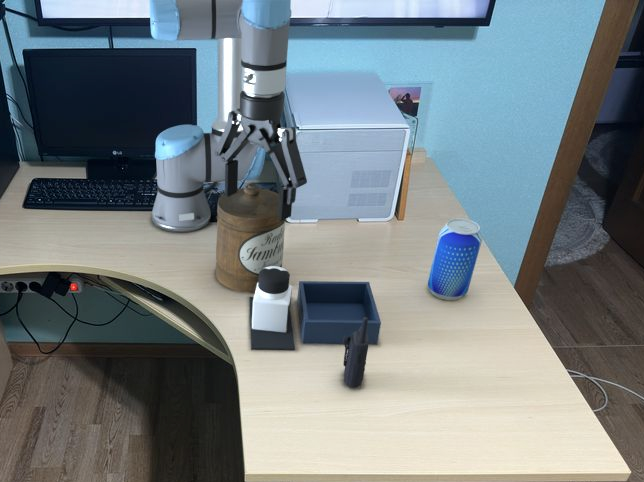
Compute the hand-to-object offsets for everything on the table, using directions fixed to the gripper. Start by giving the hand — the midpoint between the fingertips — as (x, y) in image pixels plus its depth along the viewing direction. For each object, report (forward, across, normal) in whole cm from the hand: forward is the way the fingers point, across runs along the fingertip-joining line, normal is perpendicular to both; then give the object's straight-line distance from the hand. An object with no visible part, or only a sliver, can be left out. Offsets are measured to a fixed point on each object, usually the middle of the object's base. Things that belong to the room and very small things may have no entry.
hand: (256, 206), depth 126 cm
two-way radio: (+24, +28, -3) cm, 37 cm away
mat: (+24, +6, 0) cm, 25 cm away
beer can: (+25, +24, +36) cm, 50 cm away
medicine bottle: (+24, +6, 0) cm, 25 cm away
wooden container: (+25, -10, +10) cm, 29 cm away
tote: (+24, +15, +10) cm, 30 cm away
